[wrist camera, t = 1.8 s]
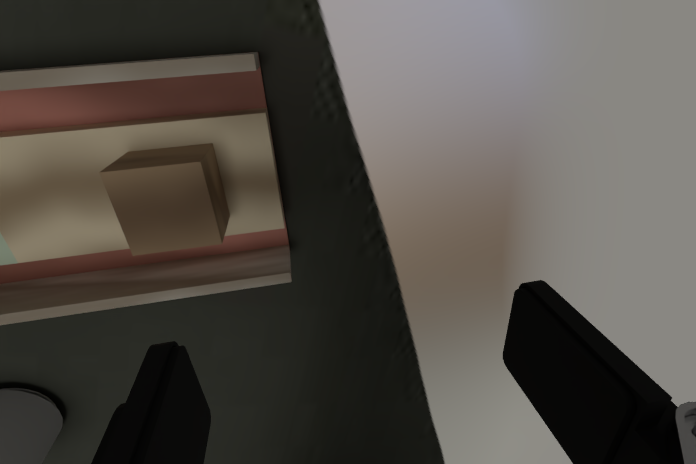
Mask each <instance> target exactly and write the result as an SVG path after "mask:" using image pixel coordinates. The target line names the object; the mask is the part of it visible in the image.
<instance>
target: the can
mask: <svg viewBox="0 0 696 464" xmlns="http://www.w3.org/2000/svg"><path fill="white" fill-rule="evenodd" d="M62 426H63V418H62V416H61V413H60V411H59V410H58V409H57V407H56V405H55V403H54V402H53V401H52V400H50V399H49V398H48V397H47V396H45V395H43V394H41V393H39V392H36V391H32V390H29V389H23V388H5V389H0V464H42V463H43V461H44V459H45V457H46V455H47V454H48V452H49V450H50V448H51V447H52V445H53V443H54V441H55V439H56V438H57V436H58V434H59V432H60V431H61V429H62Z"/></svg>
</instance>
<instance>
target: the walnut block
mask: <svg viewBox="0 0 696 464" xmlns="http://www.w3.org/2000/svg"><path fill="white" fill-rule="evenodd" d="M99 174H100V176H101V179H102V181H103V184H104V186H105V189H106V191H107V193H108V196H109V198H110V201H111V203H112V206H113V208H114V211H115V213H116V216H117V218H118V221H119V223H120V226H121V228H122V231H123V233H124V236H125V238H126V240H127V243H128V245H129V248H130V250H131V253H132V255H133V256H136V255H144V254H151V253H159V252H166V251H174V250H181V249H189V248H196V247H204V246H211V245H219V244H222V243H223V239H224V236H225V232H226V229H227V225H228V221H229V218H230V213H229V209H228V205H227V200H226V196H225V192H224V188H223V184H222V180H221V175H220V171H219V167H218V163H217V159H216V155H215V150H214V146H213V143H209V144H199V145H189V146H179V147H169V148H159V149H150V150H140V151H130V152H127V153H125V154H124V155H123V156H121V157H120V158H118V159H117V160H116V161H114V162H113V163H111V164H110V165H109V166H107V167H106V168H105V169H103V170H102V171H100V172H99Z"/></svg>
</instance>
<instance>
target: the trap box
mask: <svg viewBox="0 0 696 464" xmlns="http://www.w3.org/2000/svg"><path fill="white" fill-rule="evenodd" d="M209 143H213V146H214V150H215V155H216V159H217V163H218V167H219V171H220V175H221V180H222V184H223V188H224V192H225V196H226V200H227V205H228V209H229V213H230V218H229V221H228V225H227V229H226V232H225V236H224V239H223V243H222V244H219V245H211V246H204V247H196V248H189V249H181V250H174V251H166V252H159V253H151V254H144V255H136V256H133V255H132V253H131V250H130V248H129V245H128V243H127V240H126V238H125V236H124V233H123V231H122V228H121V226H120V223H119V221H118V218H117V216H116V213H115V211H114V208H113V206H112V203H111V201H110V198H109V196H108V193H107V191H106V189H105V186H104V184H103V181H102V179H101V176H100V174H99V172H100V171H102V170H103V169H105V168H106V167H107V166H109V165H110V164H111V163H113V162H114V161H116V160H117V159H118V158H120V157H121V156H123V155H124V154H125V153H127V152H130V151H140V150H150V149H159V148H169V147H179V146H189V145H199V144H209ZM288 282H292V278H291V259H290V247H289V241H288V234H287V228H286V222H285V216H284V210H283V203H282V197H281V191H280V185H279V179H278V172H277V166H276V160H275V154H274V148H273V141H272V135H271V129H270V123H269V117H268V110H267V104H266V98H265V92H264V86H263V79H262V73H261V67H260V61H259V55H258V52H248V53H234V54H221V55H207V56H194V57H180V58H167V59H153V60H140V61H126V62H113V63H99V64H85V65H72V66H58V67H45V68H31V69H18V70H4V71H0V325H5V324H12V323H18V322H25V321H32V320H39V319H45V318H52V317H59V316H66V315H72V314H79V313H86V312H92V311H99V310H106V309H113V308H119V307H126V306H133V305H140V304H146V303H153V302H160V301H166V300H173V299H180V298H187V297H193V296H200V295H207V294H214V293H220V292H227V291H234V290H241V289H247V288H254V287H261V286H267V285H274V284H281V283H288Z"/></svg>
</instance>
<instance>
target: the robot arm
mask: <svg viewBox="0 0 696 464" xmlns="http://www.w3.org/2000/svg"><path fill="white" fill-rule="evenodd" d="M503 360H504V363H505V365H506V367H507V369H508V370H509V371H510V373H511V374H512V376H513V377H514V379H515V380H516V382H517V383H518V385H519V386H520V387H521V389H522V390H523V392H524V393H525V394H526V396H527V397H528V399H529V400H530V402H531V403H532V405H533V406H534V408H535V409H536V411H537V412H538V413H539V415H540V416H541V418H542V419H543V421H544V422H545V424H546V425H547V426H548V428H549V429H550V431H551V432H552V434H553V435H554V437H555V438H556V439H557V441H558V442H559V444H560V445H561V447H562V448H563V450H564V451H565V452H566V454H567V455H568V457H569V458H570V460H571V461H572V463H573V464H696V402H687V403H684V404H681V405H680V406H679V407H677V406H676V405H675V404H674V403H673V402H672V401H671V399H672V397H671V396H670V395H669V394H668V393H666V392H665V391H664V390H663V389H662V388H661V387H660V386H659V385H658V384H656V383H655V382H654V381H653V380H652V379H651V378H650V377H649V376H648V375H647V374H646V373H645V372H644V371H642V370H641V369H640V368H639V367H638V366H637V365H635V363H634V362H633V361H631V360H630V359H629V358H628V357H627V356H626V355H625V354H624V353H623V352H621V350H619V349H618V348H617V347H616V346H615V345H614V344H613V343H612V342H611V341H610V340H608V339H607V338H606V337H605V336H604V335H603V334H602V333H601V332H600V331H599V330H597V329H596V328H595V327H594V326H593V325H592V324H591V323H590V322H589V321H588V320H586V319H585V318H584V317H583V316H582V315H581V314H580V313H579V312H578V311H577V310H576V309H574V308H573V307H572V306H571V305H570V304H569V303H568V302H567V301H565V299H564V298H562V297H561V296H560V295H559V294H558V293H557V292H556V291H555V290H554V289H553V288H551V287H550V286H549V285H548V284H547V283H546V282H544V281H542V280H540V281H534V282H528V283H522V284H521V285H520V286H519V289H517V290H516V291H515V293H514V298H513V303H512V308H511V313H510V319H509V324H508V330H507V334H506V340H505V345H504V351H503ZM210 423H211V414H210V409H209V407H208V404H207V401H206V399H205V396H204V394H203V391H202V389H201V386H200V384H199V381H198V378H197V376H196V373H195V371H194V368H193V366H192V363H191V361H190V358H189V355H188V353H187V350H186V348H185V347H184V346H178V344H177V343H176V342H175V341H173V342H167V343H161V344H155V345H151V346H150V347H149V349H148V351H147V353H146V356H145V358H144V361H143V363H142V365H141V368H140V370H139V372H138V375H137V377H136V380H135V382H134V384H133V387H132V389H131V391H130V394H129V396H128V399H127V401H126V403H123V404H121V405H120V406H118V407H117V409H116V410H115V412H114V414H113V416H112V418H111V420H110V423H109V425H108V427H107V429H106V432H105V434H104V436H103V438H102V441H101V443H100V445H99V447H98V450H97V452H96V454H95V456H94V459H93V461H92V463H91V464H203V463H204V458H205V452H206V446H207V441H208V435H209V430H210Z"/></svg>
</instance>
